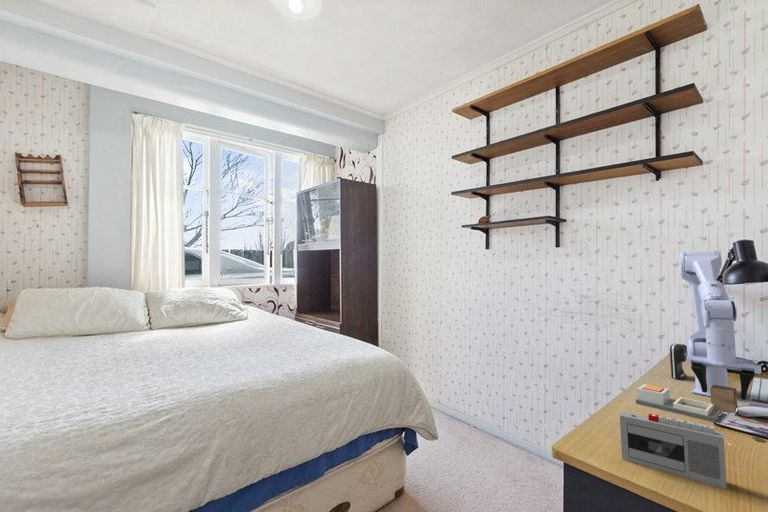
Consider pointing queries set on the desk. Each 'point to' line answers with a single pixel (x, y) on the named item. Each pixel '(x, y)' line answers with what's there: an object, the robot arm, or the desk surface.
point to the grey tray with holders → (677, 404)
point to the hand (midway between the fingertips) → (723, 395)
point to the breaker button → (653, 388)
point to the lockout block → (724, 398)
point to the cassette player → (674, 447)
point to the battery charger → (678, 360)
